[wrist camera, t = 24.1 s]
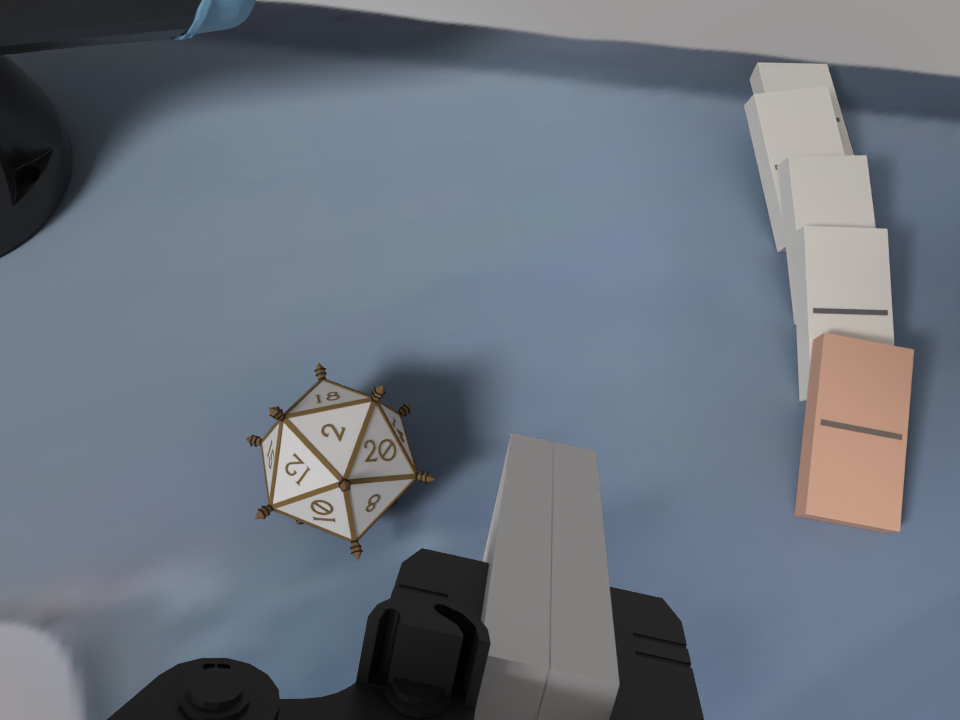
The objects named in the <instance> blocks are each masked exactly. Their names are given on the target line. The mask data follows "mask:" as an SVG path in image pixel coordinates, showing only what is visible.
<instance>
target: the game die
mask: <svg viewBox="0 0 960 720" xmlns="http://www.w3.org/2000/svg"><path fill="white" fill-rule="evenodd" d="M325 370H326V368H324V367H323V366H322V365H321V364H320V363H318V366H317V368H316V370H314V371H315V372H316V376H317V377H318V379H319V381H318V382H317V383H316V384H315V385H313V386H312V387H311V388H310V389H309V390H308V391H307V392H306V393H305V394H304V395H303V396H302V397H301V398H300V399H299V400H298V401H296V402H295V403H294V404H293V405H292V406H291V407H290V408H289V409H288V410H287V411H286V412H285V413H284V414H283V411H282V409H281V410H280V409H279V406H278V407H273V408H269V410H270V416H272V417H273V418H275V419H277V422H276V423H275V424H274V425H273V427H272V428H271V429H270V430H269V432H268V433H267V434H266V435H265V436H264V438H263V439H261V438H260V437H258V436H254V435H252V436H251V437H248V438H246V440H247V441H248V442H249V443H250V445H251V446H253V445H254V446H255V447H257V446H259V445H260V446H261V448H262V456H263V464H264V472H265V479H266V487H267V495H268V503H269V504H268V505H267V506H262V508H261V509H258V512H257V515H256V517H255V519H262V518H263V519H265V518H266V516H268V515H270V512H271V511H275V512H278V513H280V514H283V515H285V516H288V517H290V518H293V519H295V520H296V522H297V525H299V524H307V525H310V526H312V527H315V528H317V529H320V530H322V531H325V532H327V533H330V534H332V535H335V536H337V537H340V538H342V539H345V540H347V541H350V542H351V548H350V549H351V551H352V552H351V554H353V555H354V556H355V557H356V558H357V560H359V557H360V555H361V552H362V551H363V550H361V545H360V544H359V542H358V540H359V539H360V538H361V537H362V536H363V535H364V534H365V533H366V532H367V531H368V529H369V528H370V527H371V526H372V525H373V524H374V523H375V522H376V521H377V520H378V519H379V518H380V517H381V516H382V515H383V514H384V513H385V512H386V511H387V509H388V508H389V507H390V506H391V505H392V504H394V503H398V502H397V499H398V498H399V497H400V496H401V495H402V494H403V493H404V492H405V491H406V490H407V488H408V487H409V486H410V485H411V484H412V483H413V482H414V481H415V480H416V479H418V480H420V481H421V482H424V483H428V482H430V481H433V480H435V479H434V478H433V477H432V476H431V475H430V474H429V472H427V473H426V472H424V471H423V472H417V469H416V465H415V462H414V458H413V455H412V452H411V448H410V445H409V441H408V438H407V434H406V431H405V428H404V424H403V421H402V416H407V414H410V409H411V406H412V405H405V404H404V405H403V406H402V407H401V408H400V409H399V411H396V410H394V409H393V408H391V407H390V406H388V405H386V404H385V403H383V402H382V401H380V399H381V398H382V397H383V395H384V394H385V391H384V386H383V385H382V386H380V387H374V391H372V394H373V395H372V396H370V395H368V394H365V393H362V392H359V391H357V390H354V389H351V388H348V387H346V386H343V385H340V384H338V383H335V382H332V381H329V380H327V379H326V378H325V375H326V374H327V373H325Z"/></svg>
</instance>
